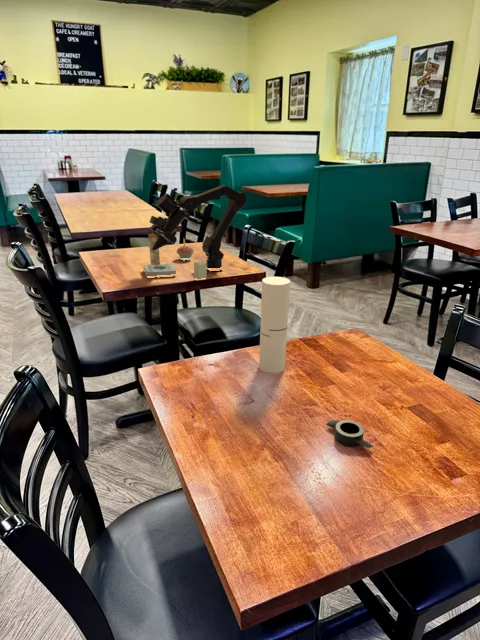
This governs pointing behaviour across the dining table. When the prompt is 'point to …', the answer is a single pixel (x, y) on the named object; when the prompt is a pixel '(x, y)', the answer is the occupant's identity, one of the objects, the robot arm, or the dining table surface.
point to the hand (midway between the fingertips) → (151, 248)
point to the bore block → (163, 269)
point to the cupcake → (185, 251)
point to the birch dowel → (154, 253)
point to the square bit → (200, 270)
